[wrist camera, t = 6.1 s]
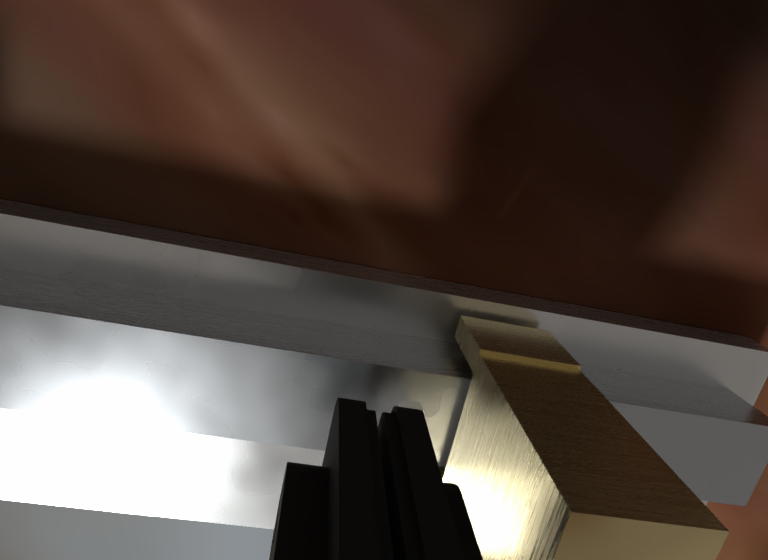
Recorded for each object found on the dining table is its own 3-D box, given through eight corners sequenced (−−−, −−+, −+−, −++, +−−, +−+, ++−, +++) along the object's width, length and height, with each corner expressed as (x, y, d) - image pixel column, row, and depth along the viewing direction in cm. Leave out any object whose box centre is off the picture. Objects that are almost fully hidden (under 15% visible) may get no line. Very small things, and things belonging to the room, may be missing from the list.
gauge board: (-223, 157, 12) (-529, 184, 8) (746, 336, 16) (899, 421, 12) (-190, 451, 15) (-410, 596, 10) (651, 548, 18) (748, 684, 14)
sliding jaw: (460, 315, 13) (573, 505, 7) (547, 330, 14) (732, 526, 7) (394, 555, 16) (433, 868, 9) (470, 563, 16) (560, 870, 10)
